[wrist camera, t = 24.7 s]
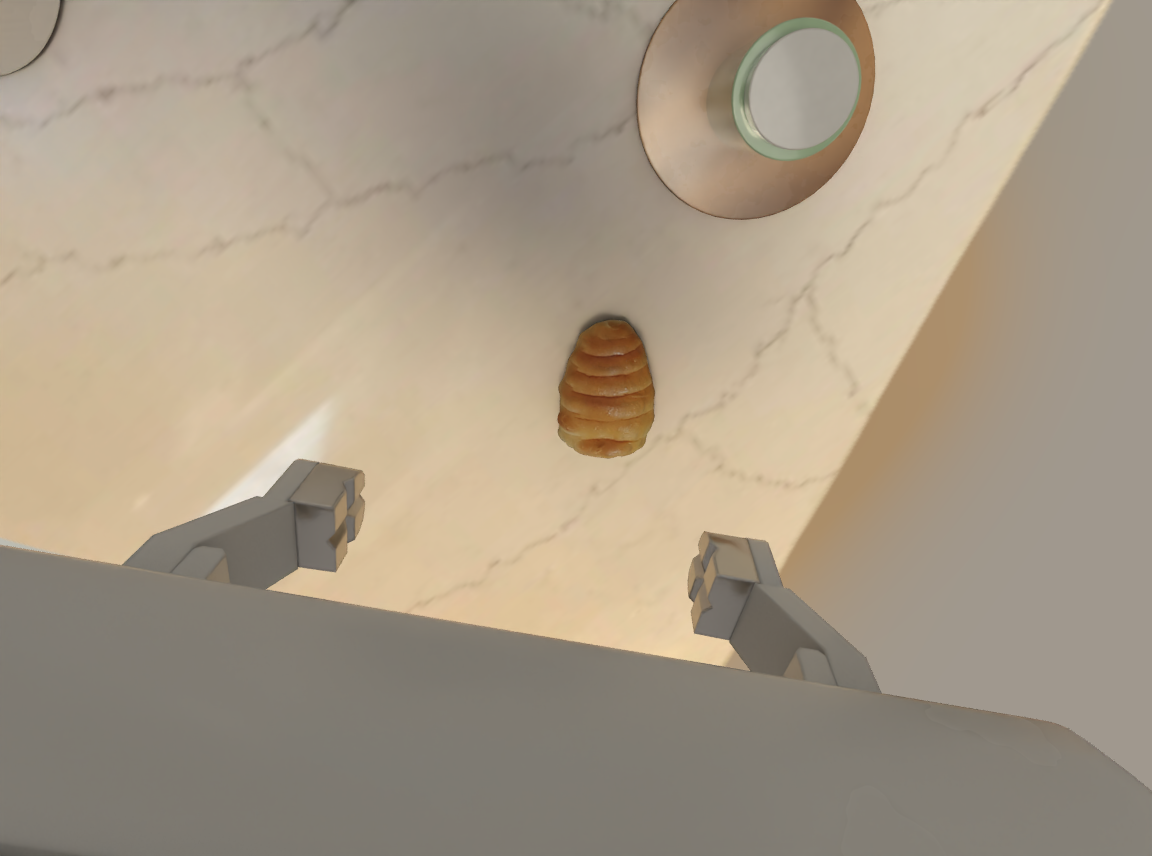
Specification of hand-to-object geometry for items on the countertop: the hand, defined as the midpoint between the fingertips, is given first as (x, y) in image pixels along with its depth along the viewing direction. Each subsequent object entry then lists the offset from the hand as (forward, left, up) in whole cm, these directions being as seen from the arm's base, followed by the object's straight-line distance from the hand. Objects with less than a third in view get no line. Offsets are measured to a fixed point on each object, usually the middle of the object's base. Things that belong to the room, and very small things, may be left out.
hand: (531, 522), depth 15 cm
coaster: (+2, +13, -28) cm, 31 cm away
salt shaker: (+2, +13, -27) cm, 30 cm away
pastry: (+6, -6, -28) cm, 30 cm away
